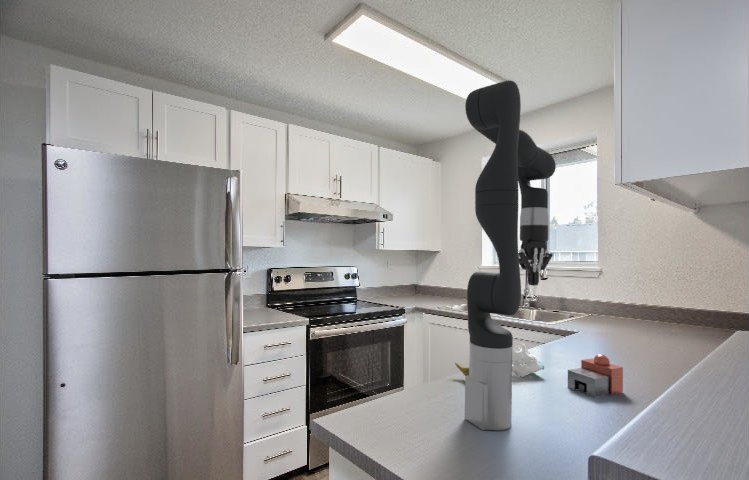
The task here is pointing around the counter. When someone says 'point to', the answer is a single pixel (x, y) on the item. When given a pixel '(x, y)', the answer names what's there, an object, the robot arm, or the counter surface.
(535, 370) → the jaw support
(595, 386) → the block
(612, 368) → the red domed block
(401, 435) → the counter surface
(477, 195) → the robot arm
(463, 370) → the neti pot
